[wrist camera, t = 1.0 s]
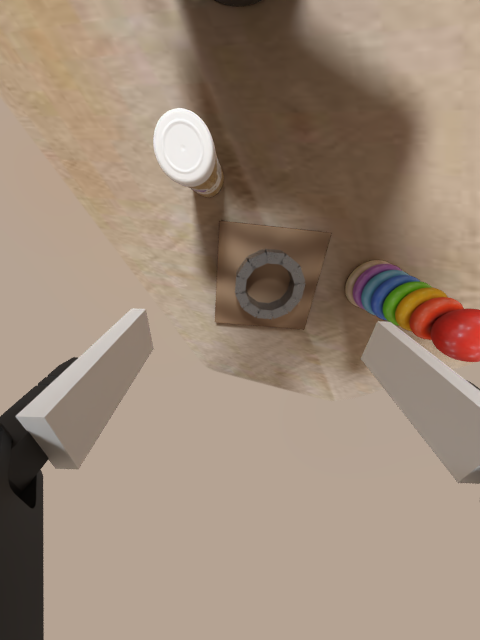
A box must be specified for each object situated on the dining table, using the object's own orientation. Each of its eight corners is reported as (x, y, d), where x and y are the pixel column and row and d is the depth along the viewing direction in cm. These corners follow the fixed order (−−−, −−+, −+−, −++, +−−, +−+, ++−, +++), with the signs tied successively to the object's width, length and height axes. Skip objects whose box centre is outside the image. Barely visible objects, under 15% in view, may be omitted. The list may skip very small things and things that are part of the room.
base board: (220, 220, 29) (219, 220, 28) (327, 232, 30) (331, 233, 29) (215, 318, 37) (214, 322, 35) (301, 325, 37) (304, 329, 36)
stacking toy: (344, 310, 36) (434, 391, 19) (341, 266, 33) (449, 321, 16) (390, 298, 35) (527, 373, 18) (393, 252, 32) (565, 294, 15)
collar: (238, 245, 30) (238, 248, 27) (305, 252, 30) (312, 256, 27) (233, 308, 34) (232, 315, 31) (291, 313, 35) (295, 321, 32)
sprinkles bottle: (195, 200, 28) (163, 189, 16) (185, 160, 26) (141, 113, 14) (227, 193, 28) (219, 177, 16) (220, 152, 26) (204, 97, 14)
